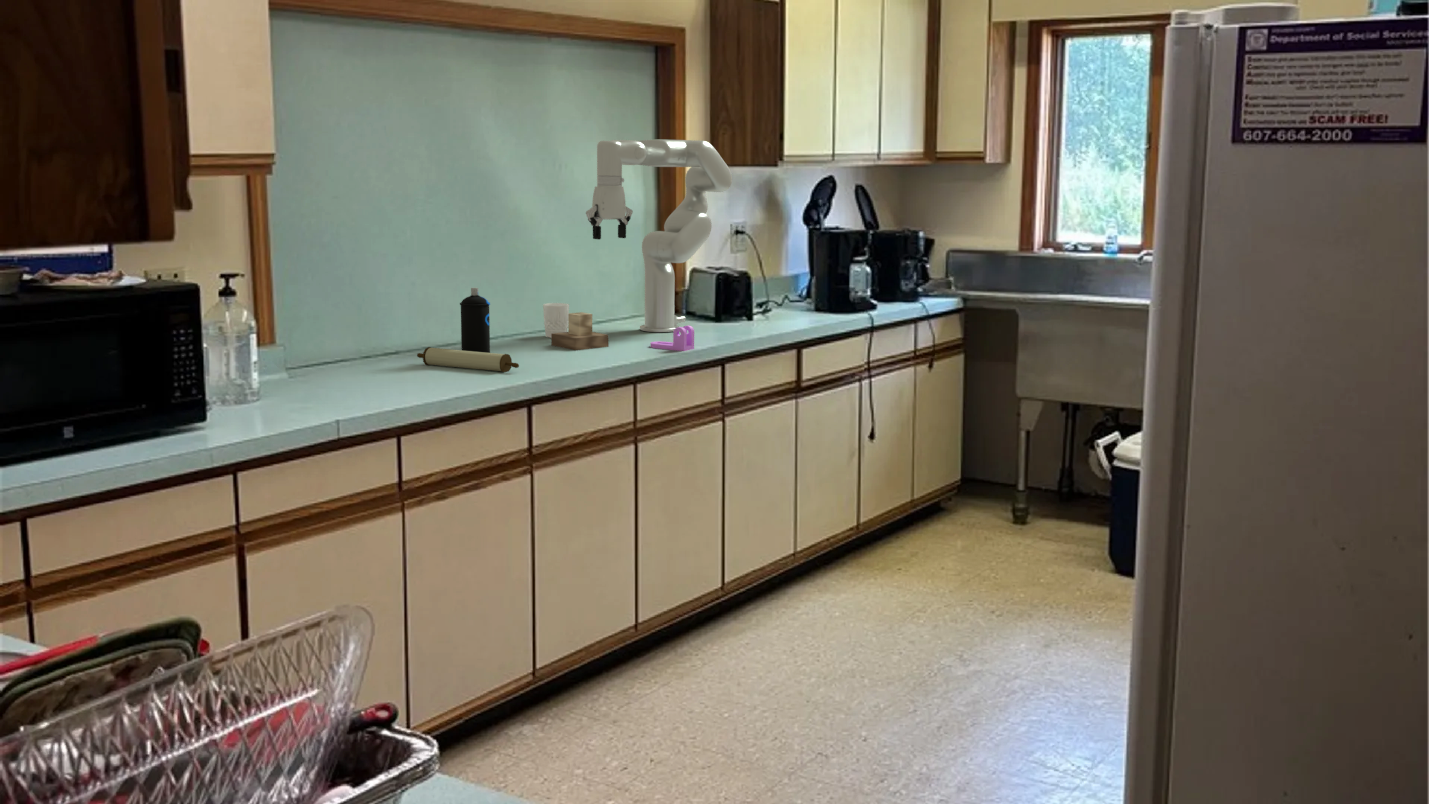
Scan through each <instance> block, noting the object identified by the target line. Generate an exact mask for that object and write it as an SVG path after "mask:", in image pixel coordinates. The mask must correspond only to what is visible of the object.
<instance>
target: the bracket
mask: <svg viewBox="0 0 1429 804" xmlns="http://www.w3.org/2000/svg"><path fill="white" fill-rule="evenodd" d="M672 335H673V336H672V338H673V339H672V341H650V348H652V349H658V350H659V349H660V350H661V349H662V350H668V351H669V350H671V351H677V352H679V351H681V352H686V351H690V350H691V351H692V350H694V349H695V329H694V327H693V326H691V325H685V326H679V327H677V328H675V329H674V331H673V333H672Z"/></svg>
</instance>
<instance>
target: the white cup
mask: <svg viewBox="0 0 1429 804" xmlns="http://www.w3.org/2000/svg"><path fill="white" fill-rule="evenodd" d="M542 308H543V320H544V321H543V324H544V330H545V332H544V333H545V337H546V338H550V339H551V334H552V333H562V332H568V313H570V312H569V311H570V304H569V303H566V302H565V303H564V302H548V303H543V304H542Z"/></svg>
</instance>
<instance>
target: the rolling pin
mask: <svg viewBox="0 0 1429 804" xmlns="http://www.w3.org/2000/svg"><path fill="white" fill-rule="evenodd" d="M416 357H417V358H419V359H422V363H424V364H425V365H426V366H440V367H446V368H447V367H449V368H459V369H468V370H470V369H471V370H479V371H480V370H483V371H491V372H492V371H493V372H501V373H508V372H510V370H511V369H512V368H514V369H517V368H519V367H520V365H519V363H517V362H513V360H512V357H511V355H510V354H508V353H495V352H490V353H485V352H473V351H462V349H461V350H459V349H449V348H439V347H438V348H437V347H431V346H428V347H425V349H424V350H423V352H418V353H417V355H416Z"/></svg>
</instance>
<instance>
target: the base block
mask: <svg viewBox="0 0 1429 804" xmlns="http://www.w3.org/2000/svg"><path fill="white" fill-rule="evenodd" d="M550 339H551V343H550V344H551V346H552V347H557V348H563V349H566V350H573V351H583V350H590V349H591V350H592V349H599V348H600V349H601V348H608V347H610V346H609V341H610V340H609V339H610V338H609V334H606V333H601V332H597V331H596V332H595V331H592V334H590V335H581V336H578V335H573V334H568V331H567V332H562V333H552V334H551V338H550Z"/></svg>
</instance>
